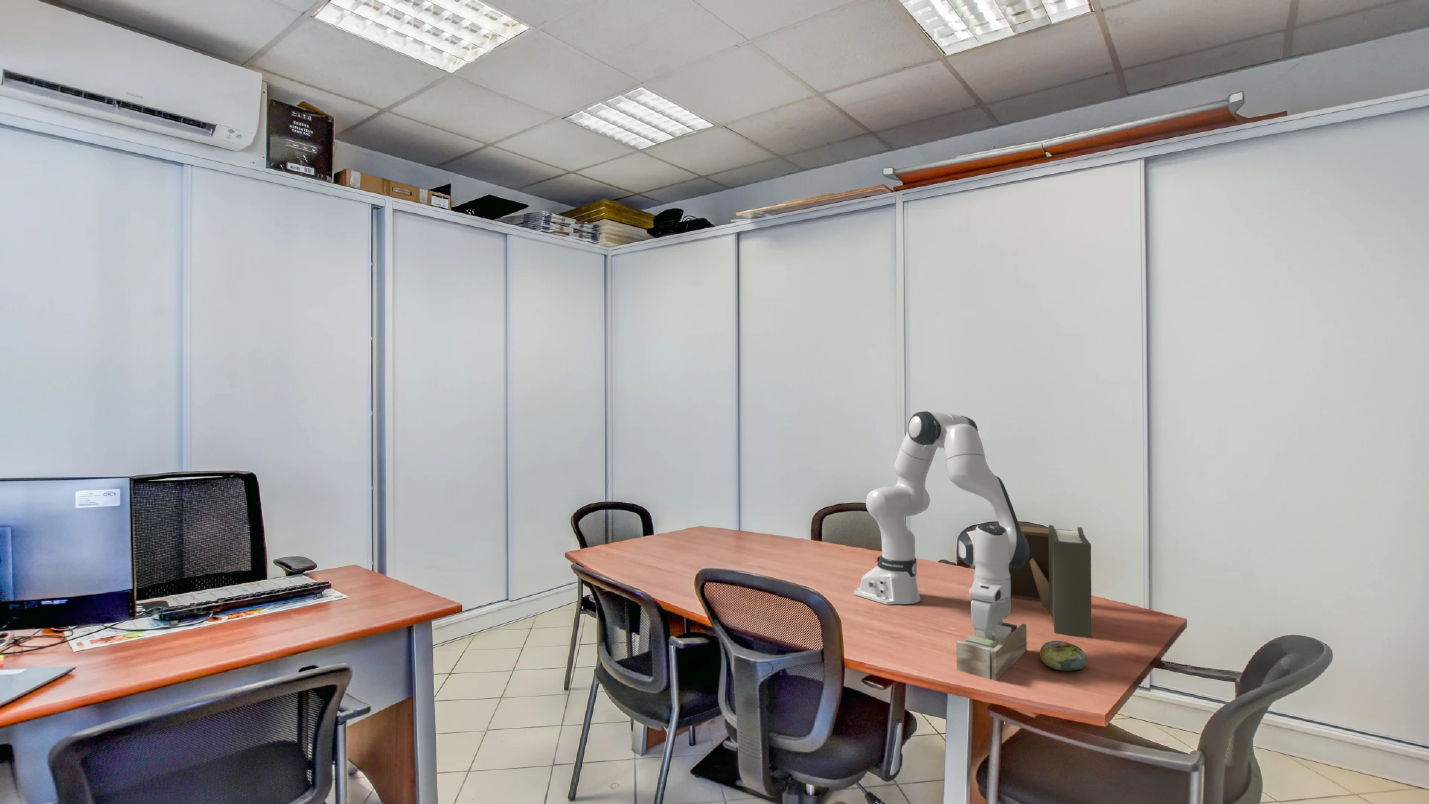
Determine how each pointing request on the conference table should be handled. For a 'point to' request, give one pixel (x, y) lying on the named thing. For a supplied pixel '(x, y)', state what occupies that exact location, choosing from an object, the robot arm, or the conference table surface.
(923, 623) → the conference table surface
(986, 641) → the book olive
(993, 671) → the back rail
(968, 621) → the conference table surface
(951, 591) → the conference table surface
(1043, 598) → the photo frame
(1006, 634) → the book ivory
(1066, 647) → the cell model
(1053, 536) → the book
